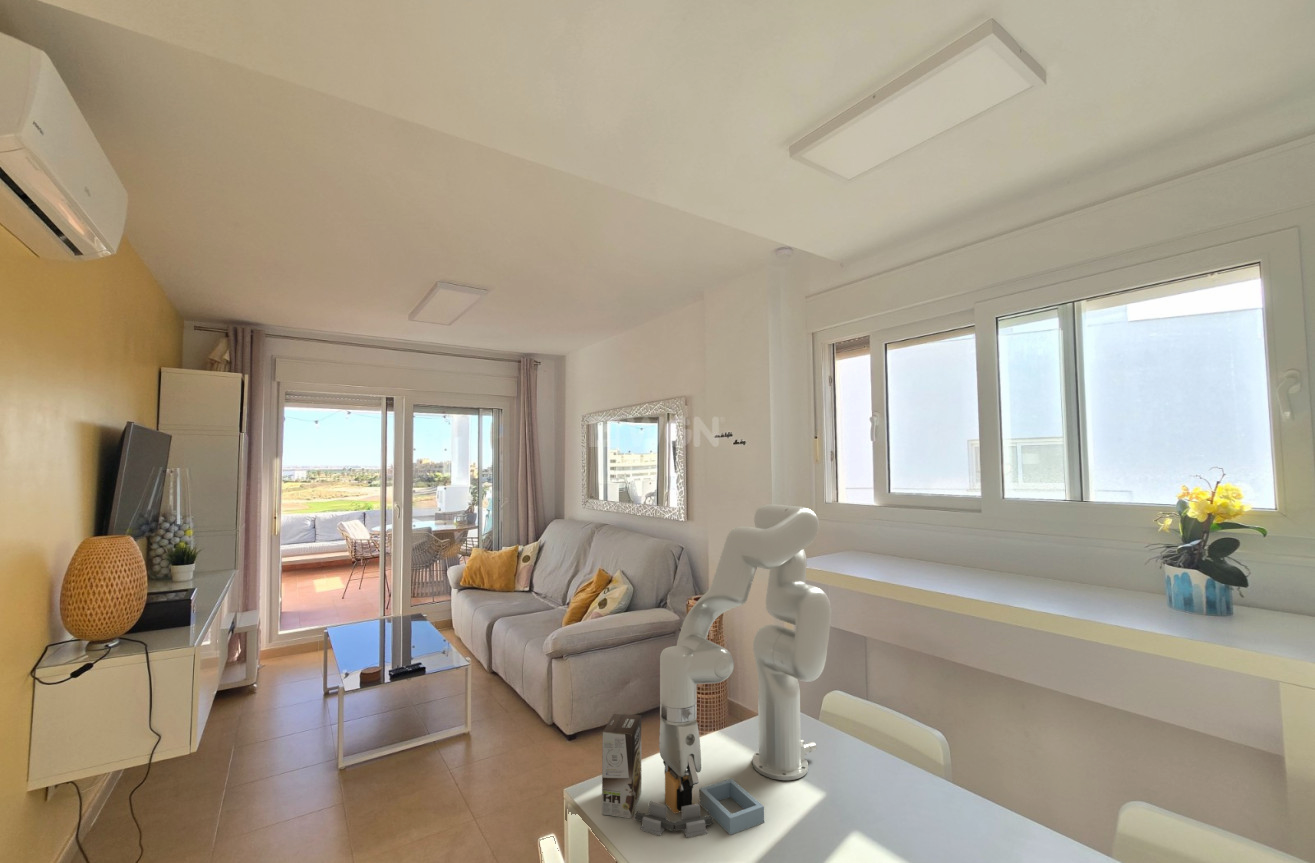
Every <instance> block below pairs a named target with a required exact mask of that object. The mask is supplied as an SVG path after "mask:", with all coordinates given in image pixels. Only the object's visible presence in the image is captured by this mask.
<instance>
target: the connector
mask: <svg viewBox="0 0 1315 863" xmlns="http://www.w3.org/2000/svg"><path fill="white" fill-rule="evenodd" d="M687 779H688V777H687V776H685V777H683V782H684V781H685V780H687ZM677 789H679V785H678V774H677V773H676V772H675V771H673V770H672V769H671V770H670V771H669V772H666V773H665V772H664V803H665V805H667V808H669V810H671V811H672V812H673V813H674V814H678V813H680V812H681V811H679V810H678V809H677Z"/></svg>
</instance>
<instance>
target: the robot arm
mask: <svg viewBox="0 0 1315 863" xmlns="http://www.w3.org/2000/svg"><path fill="white" fill-rule="evenodd" d="M753 521H754V522H753V523H754V526H755V527H754V526H737V527H734V528H732V529H731V530H730V531H729V533H728V534H727V536H726V539H725V541H724V544H723V547H722V551H721V553H720V557H719V560H718V563H717V566H716V569H715V572H714V575H713V579H712V581H711V585H710V586H709V589H708V590H707V591H706V592H705V593H704V594H702V596H701V597H700V598H699V599H698V600H697V602H695V604H694V605H693V606H692V607H691V608H690V610H689V611H688V613H687V614H686V616H685V618H684V620H683V623H682V626H681V629H680V632H679V635H678V638H677V641H676V645H673V646H668V647H666V648H664V649H663V650H662V651H661V653H660V656H659V664H660V665H659V675H660V676H659V705H660V706H659V718H660V721H659V722H660V725H659V738H658V739H659V745H658V746H659V754H660V755H659V756H660V758H661V759H662V762H663V765H664V774H665V773H666V772H669V771H670V770H671V769H672V770H673V771H675V772H676V773H677V774H678V785H679V789H677V809H678V810H679V811H681V807H682V806H687V805H693V801H692V800H693V793H692V792H693V788H694V785H698V784H699V782H700V781H699V776H698V774H697V773H701V770H702V752H701V740H700V739H701V738H700V731H699V725H698V721H697V685H699V684H700V685H702V684H719V683H722V682H724V681H726V680H727V679H728V678H729V677H730V676H731V675H732V673H733V671H734V668H735V662H734V661H735V660H734V657H733V655H732V653H731V652H730V651H729V650H728V649H727V648H725V647H724V646H722V645H719V644H717V643H715V642H714V641H712V640H709V639H707V637H708V635H709V631H710V629H711V627H712V625H713V624H714V622H715V621H716V619H717V618H718V617H720V616H721V615H722V614H724V613H726V612H728V611H730V610H733V609H735V608H738V607H741V606H744V605H745V604H746V603H747V601H748V598H749V594H750V591H751V587H752V585H753V582H754V579H755V575H756V571H757V568H759V569H763V570H764V569H765V570H769V572H768V573H769V574H768V579H767V588H766V593H765V594H766V595H765V609H766V611H767V613H768V614H769V615H770V616H771V617H773V618H774V619H775V620H779V621H782V622H784V623H787V624H790V625H794V626H795V629H794V630H793V629H791V628H787V627H785V626H781V625H779V624H766V625H764V626H762V627H760V628H759V629H758V631H756V633H755V635H754V637H753V642H752V651H753V655H754V656H753V657H754V661H755V665H756V666H755V668H756V674H757V675H756V676H757V687H758V688H757V699H758V700H757V703H758V704H757V705H758V706H757V707H758V709H757V711H758V713H757V714H758V717H757V718H758V750H757V751H756V752H755V753H754V754H753V755H752V758H751V759H752V760H751V761H752V767H753V768H754V769H755V770H756V772H757V773H759V774H761V775H762V776H764V777H766V778H769V779H772V780H776V781H777V780H778V781H795V780H798V779H800V778H803V777H804V776H805V775H806V774H807V773H808V771H809V763H808V760H807V759H806V758H805V756H807V755H808V753H812V752H814V751H817V744H816V742H814V741H810V742H808V743H807V742H806V743H805V741H804V739H801V735H802V734H801V691H800V685H799V684H800V683H799V681H802V682H806V683H807V682H808V683H809V682H814V681H815V680H817V679H818V678H819V677H820V676H821V675H822V673H823V671H824V669H825V665H826V662H827V654H828V647H829V638H830V630H831V621H832V606H831V602H830V599H829V597H828V595H827V593H826V592H825V591H824V590H823V589H821V588H819V587H817V586H815V585H812V584H807V583H806V578H807V576H806V575H807V565H808V564H807V563H808V562H807V555H806V551H805V549H806V548H807V547H809V546H810V545H811V544H812V543H813V541H815V539H816V538H817V536H818V533H819V531H820V522H819V517H818V516H817V515H816V513H815V512H814V511H813V510H811V509H810V508H808V507H804V506H797V505H796V506H794V505H786V504H775V503H773V504H771V503H770V504H764V505H761V506H760V507H758V508H757V509H756V511H755V512H754V518H753ZM685 776H687V777H688V779H687V780H685V781H684V782H683V777H685Z"/></svg>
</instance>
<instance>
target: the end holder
mask: <svg viewBox="0 0 1315 863" xmlns="http://www.w3.org/2000/svg"><path fill="white" fill-rule="evenodd" d="M698 792H699V794H698V795H699V796H698V797H699V805H700V807H702V808H703V809H704V810H705V811H706V812H707V813H708V814H709V815H711V816H712V818H713V820H715V821H716V822H717V823H718V824H719V826H721V827H722V828H723V829H724V830H725V831H726V832H727V834H729V835H730V836H731V835H735V834H737V833H740V832H742V831H744V830H749V829H751V828H754V827H756V826H758V825H761V824H763V823H765V806H764V805H763V804H762V803H761V802H760V801H758V800H757V799H756V798H755V797H754V796H753V795H751V794H750V793H749V792H748V791H747V790H745V788H743V786H741V785H740V784H738V782H736V781H735V780H734V779H733V778H729V779H725V780H722V781H720V782H719V781H718V782H715V783H712V784H709V785H707V786H703V787H699V790H698ZM728 798H731V799H732V800H734V802H735V803H737V805H739V806H740V807H741V808H742V809H741V810H739V811H736V812H733V813H731V812H730V811H729V810H728V809H727V808H726V807H725V806H724V805H723V804H722V803H721V802H720V801H723V800H724V799H728Z"/></svg>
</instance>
